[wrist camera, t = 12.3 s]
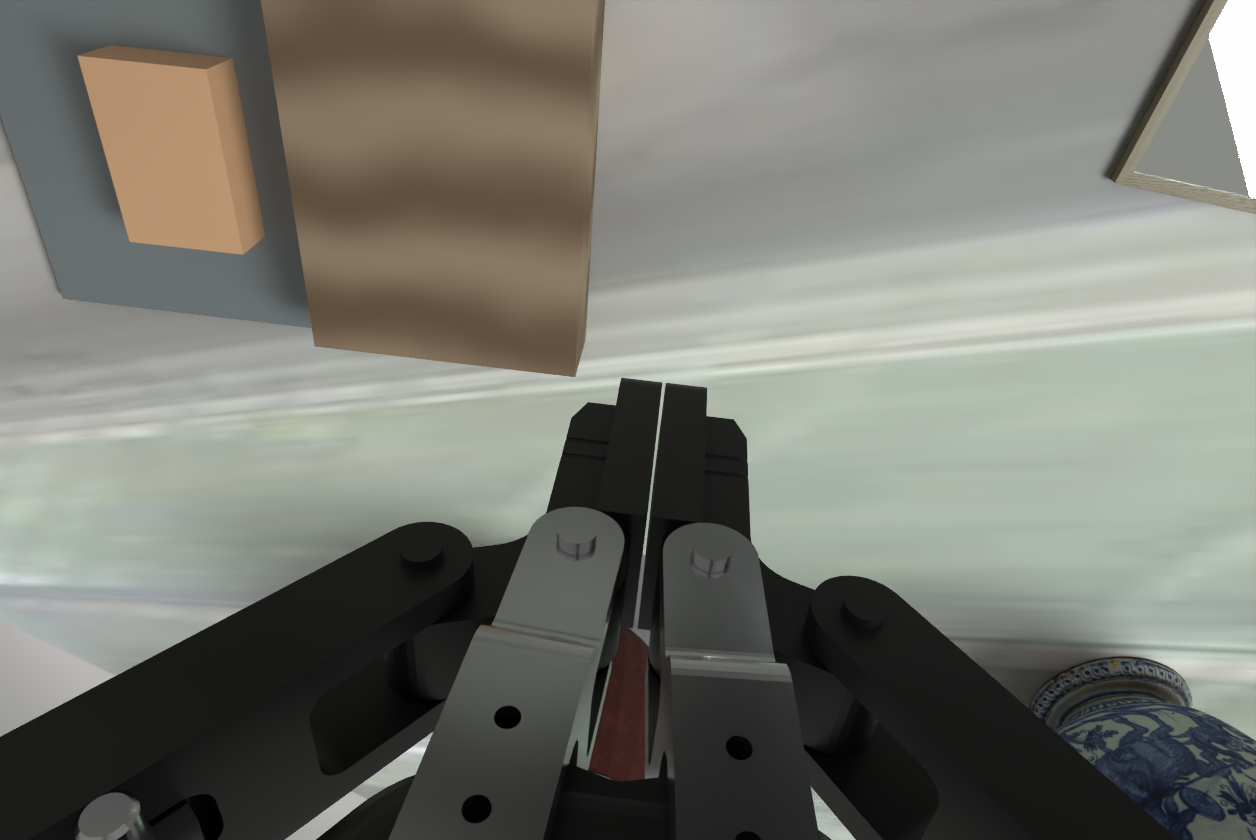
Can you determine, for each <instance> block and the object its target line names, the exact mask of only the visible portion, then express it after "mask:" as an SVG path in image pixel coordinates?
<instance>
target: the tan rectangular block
mask: <svg viewBox="0 0 1256 840" xmlns="http://www.w3.org/2000/svg"><path fill="white" fill-rule="evenodd" d="M78 60H79V63H80V67H81V71H82V74H83V78H84V81H85V85H86V88H87V92H88V95H89V99H90V103H91V106H92V110H93V113H94V117H95V120H96V124H97V127H98V131H99V135H100V138H101V142H102V145H103V149H104V152H105V156H106V159H107V163H108V167H109V170H110V174H111V177H112V181H113V184H114V188H115V192H116V195H117V199H118V202H119V206H120V209H121V213H122V216H123V220H124V224H125V227H126V231H127V234H128V238H129V241H130V242H136V243H145V244H153V245H162V246H171V247H180V248H188V249H197V250H206V251H215V252H224V253H232V254H241V255H243V254H245V253H246V252H247V251H248V250H249V249H251V248H252V247H253V246H254V245H255V244H256V243H258V242H259V241H260V240H261V239H262V238H264V237H265V233H264V227H263V222H262V216H261V211H260V205H259V199H258V194H257V188H256V183H255V177H254V172H253V166H252V161H251V155H250V150H249V144H248V139H247V133H246V128H245V122H244V117H243V111H242V106H241V100H240V95H239V89H238V84H237V78H236V72H235V67H234V61H233V58H227V57H218V56H208V55H199V54H190V53H180V52H171V51H161V50H152V49H142V48H133V47H124V46H114V45H109V46H106V47H103V48H100V49H97V50H94V51H91V52H88V53H84V54H81V55H78Z"/></svg>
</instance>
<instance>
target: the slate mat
mask: <svg viewBox="0 0 1256 840" xmlns="http://www.w3.org/2000/svg"><path fill="white" fill-rule="evenodd" d="M109 45H114V46H124V47H133V48H142V49H152V50H161V51H171V52H180V53H190V54H199V55H208V56H218V57H227V58H233V61H234V67H235V72H236V78H237V84H238V89H239V95H240V100H241V106H242V111H243V117H244V122H245V128H246V133H247V139H248V144H249V150H250V155H251V161H252V166H253V172H254V177H255V183H256V188H257V194H258V199H259V205H260V211H261V216H262V222H263V227H264V233H265V237H264V238H262V239H261V240H260V241H259V242H258V243H256V244H255V245H254V246H253V247H252V248H251V249H249V250H248V251H247V252H246V253H245V254H243V255H241V254H232V253H224V252H215V251H206V250H197V249H188V248H180V247H171V246H162V245H153V244H145V243H136V242H130V241H129V238H128V234H127V231H126V227H125V224H124V220H123V216H122V213H121V209H120V206H119V202H118V199H117V195H116V192H115V188H114V184H113V181H112V177H111V174H110V170H109V167H108V163H107V159H106V156H105V152H104V149H103V145H102V142H101V138H100V135H99V131H98V127H97V124H96V120H95V117H94V113H93V110H92V106H91V103H90V99H89V95H88V92H87V88H86V85H85V81H84V78H83V74H82V71H81V67H80V63H79V60H78V55H81V54H84V53H88V52H91V51H94V50H97V49H100V48H103V47H106V46H109ZM0 116H1V119H2V122H3V125H4V128H5V131H6V134H7V137H8V140H9V143H10V146H11V149H12V151H13V154H14V157H15V160H16V163H17V166H18V169H19V172H20V175H21V178H22V181H23V184H24V186H25V189H26V192H27V195H28V198H29V201H30V204H31V207H32V210H33V213H34V216H35V219H36V221H37V224H38V227H39V230H40V233H41V236H42V239H43V242H44V245H45V248H46V251H47V254H48V256H49V259H50V262H51V265H52V268H53V271H54V274H55V277H56V280H57V283H58V286H59V289H60V292H61V294H62V297H63V299H70V300H78V301H87V302H95V303H104V304H113V305H121V306H130V307H138V308H147V309H155V310H164V311H172V312H181V313H189V314H198V315H206V316H215V317H223V318H232V319H240V320H249V321H257V322H266V323H274V324H283V325H291V326H300V327H308V328H312V325H311V319H310V312H309V306H308V299H307V293H306V287H305V280H304V274H303V267H302V261H301V255H300V248H299V242H298V235H297V229H296V223H295V216H294V210H293V203H292V197H291V191H290V184H289V178H288V171H287V165H286V159H285V152H284V146H283V139H282V133H281V127H280V120H279V114H278V107H277V101H276V95H275V88H274V82H273V75H272V69H271V63H270V56H269V50H268V43H267V37H266V31H265V24H264V18H263V11H262V5H261V0H0Z"/></svg>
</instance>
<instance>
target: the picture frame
mask: <svg viewBox="0 0 1256 840" xmlns="http://www.w3.org/2000/svg"><path fill="white" fill-rule="evenodd" d="M1111 180H1112V181H1113V182H1115V183H1118V184H1123V185H1127V186H1131V187H1136V188H1140V189H1145V190H1149V191H1154V192H1158V193H1163V194H1167V195H1172V196H1176V197H1181V198H1185V199H1190V200H1194V201H1199V202H1203V203H1208V204H1212V205H1217V206H1221V207H1226V208H1230V209H1235V210H1239V211H1244V212H1248V213H1253V214H1256V0H1206V1H1205V3H1204V5H1203V7H1202V9H1201V11H1200V12H1199V14H1198V16H1197V18H1196V20H1195V22H1194V24H1193V26H1192V27H1191V29H1190V31H1189V33H1188V35H1187V37H1186V39H1185V40H1184V42H1183V44H1182V46H1181V48H1180V50H1179V52H1178V54H1177V55H1176V57H1175V59H1174V61H1173V63H1172V65H1171V67H1170V68H1169V70H1168V72H1167V74H1166V76H1165V78H1164V80H1163V82H1162V83H1161V85H1160V87H1159V89H1158V91H1157V93H1156V95H1155V96H1154V98H1153V100H1152V102H1151V104H1150V106H1149V108H1148V110H1147V111H1146V113H1145V115H1144V117H1143V119H1142V121H1141V123H1140V124H1139V126H1138V128H1137V130H1136V132H1135V134H1134V136H1133V138H1132V139H1131V141H1130V143H1129V145H1128V147H1127V149H1126V151H1125V152H1124V154H1123V156H1122V158H1121V160H1120V162H1119V164H1118V166H1117V167H1116V169H1115V171H1114V173H1113V175H1112V177H1111Z"/></svg>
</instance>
